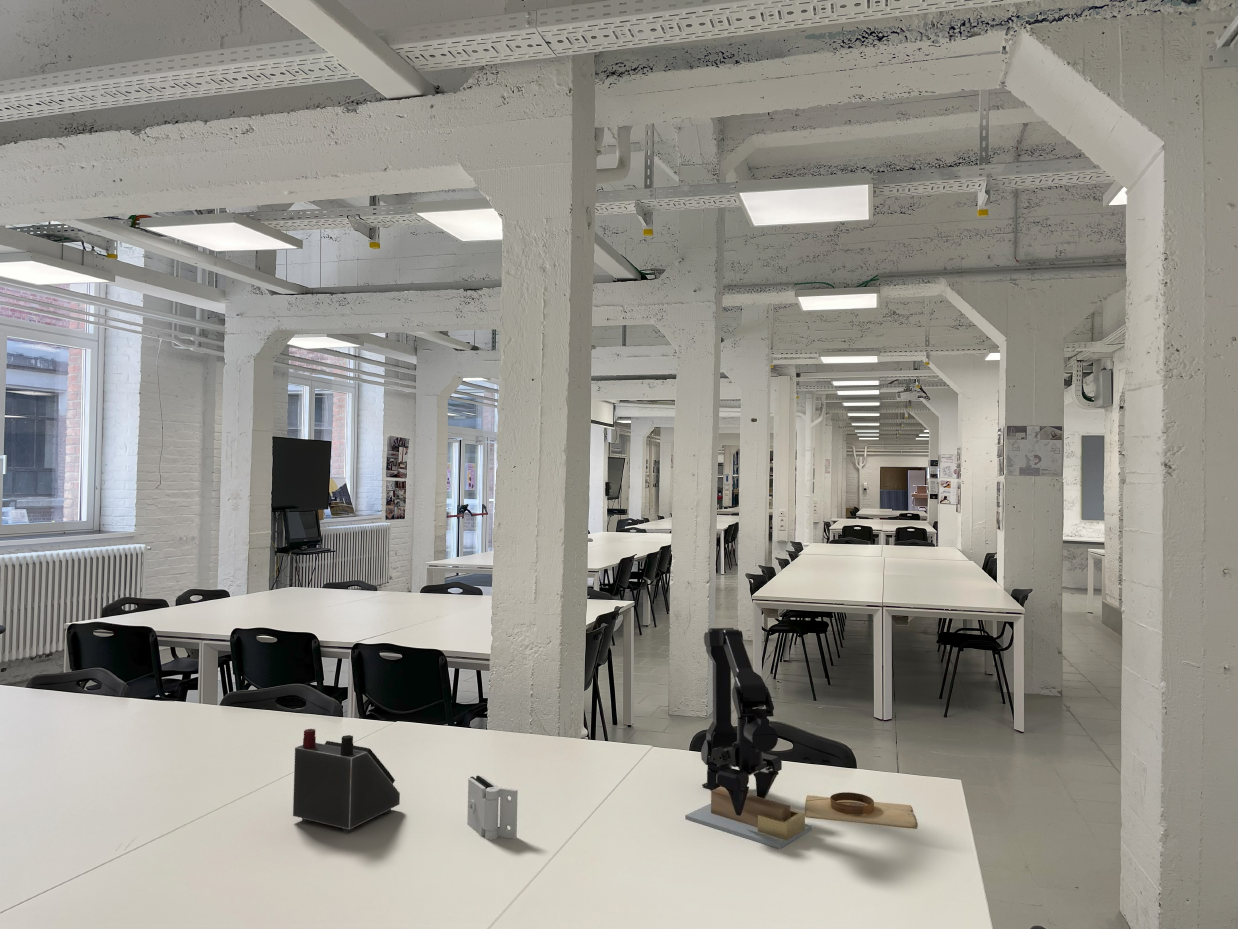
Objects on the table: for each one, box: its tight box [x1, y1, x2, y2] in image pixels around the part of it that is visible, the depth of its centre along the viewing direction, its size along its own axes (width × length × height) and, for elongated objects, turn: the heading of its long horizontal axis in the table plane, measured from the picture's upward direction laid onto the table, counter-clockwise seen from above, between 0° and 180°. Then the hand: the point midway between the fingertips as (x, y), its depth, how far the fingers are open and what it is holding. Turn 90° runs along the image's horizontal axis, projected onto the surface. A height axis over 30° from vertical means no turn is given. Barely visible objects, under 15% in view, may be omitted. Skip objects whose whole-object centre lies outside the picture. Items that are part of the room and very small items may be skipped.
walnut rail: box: [710, 787, 792, 827], centre depth 185 cm, size 4×18×5 cm, turn 50°
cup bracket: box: [758, 808, 806, 841], centre depth 180 cm, size 8×7×4 cm
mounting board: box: [684, 802, 812, 850], centre depth 186 cm, size 14×24×1 cm, turn 50°
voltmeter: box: [292, 728, 401, 833], centre depth 187 cm, size 16×16×20 cm
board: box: [804, 791, 918, 830], centre depth 195 cm, size 25×15×3 cm, turn 77°
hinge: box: [466, 774, 519, 840], centre depth 179 cm, size 14×5×10 cm, turn 46°
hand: (749, 809), depth 185 cm, fingers open, 9 cm apart
